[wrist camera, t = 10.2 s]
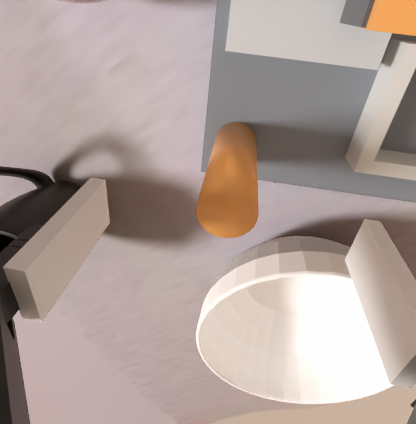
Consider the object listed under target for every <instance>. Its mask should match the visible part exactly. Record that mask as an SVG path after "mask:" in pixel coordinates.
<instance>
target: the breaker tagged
mask: <svg viewBox="0 0 416 424" xmlns="http://www.w3.org/2000/svg"><path fill="white" fill-rule="evenodd" d="M340 23H343V24H348V25H352V26H357V27H362V28H366V30H371V31H379V32H387V33H396V34H404V35H412V36H416V0H346V2H345V6H344V9H343V12H342V16H341V19H340Z"/></svg>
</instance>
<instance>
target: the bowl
mask: <svg viewBox="0 0 416 424" xmlns="http://www.w3.org/2000/svg"><path fill="white" fill-rule="evenodd" d="M350 248H351V247H349V246H346V245H343V244H341V243H338V242H334V241H331V240H328V239H323V238H318V237H313V236H289V237H281V238H276V239H273V240H269V241H265V242H263V243H260V244H258V245H256V246H254V247H252V248H250V249H248V250H247V251H245V252H244V253H242V254H241V255H239V256H238V257H236V258H235V259H233V260H232V261H231V262H229V263H228V264H227V265H226V266H225V267H224V268H223V269H222V270H221V272H220V273H219V274H218V276H217V278H216V279H215V281H214V283H213V285H212V287H211V289H210V291H209V293H208V295H207V296H206V298H205V300H204V303H203V307H202V310H201V314H200V318H199V322H198V326H197V331H196V341H197V347H198V350H199V352H200V354H201V357H202V359H203V360H204V362H205V363H206V364H207V366H208V367H209V368H210V369H211V370H212V371H213V372H214V373H215V374H216V375H218V376H219V377H220V378H221V379H223V380H224V381H226V382H228V383H229V384H231V385H233V386H234V387H236V388H239V389H241V390H243V391H245V392H248V393H250V394H253V395H257V396H260V397H263V398H267V399H272V400H277V401H282V402H290V403H299V404H326V403H339V402H344V401H350V400H356V399H360V398H363V397H367V396H370V395H373V394H376V393H378V392H381V391H383V390H385V389H388V388H390V387H392V386H394V385H392V384H390V383H389V380H388V377H387V374H386V372H385V369H384V366H383V363H382V361H381V358H380V355H379V352H378V350H377V347H376V344H375V341H374V339H373V336H372V333H371V331H370V328H369V325H368V322H367V320H366V317H365V314H364V311H363V309H362V306H361V303H360V300H359V298H358V295H357V292H356V289H355V287H354V284H353V281H352V278H351V276H350V273H349V270H348V267H347V265H346V262H345V258H346V256H347V254H348V252H349V250H350Z"/></svg>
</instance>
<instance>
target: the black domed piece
mask: <svg viewBox="0 0 416 424" xmlns="http://www.w3.org/2000/svg"><path fill="white" fill-rule="evenodd" d="M59 1H64V2H70V3H82V4H88V3H98V2H102V1H106V0H59Z"/></svg>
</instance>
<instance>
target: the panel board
mask: <svg viewBox="0 0 416 424" xmlns="http://www.w3.org/2000/svg"><path fill="white" fill-rule="evenodd" d="M345 2H346V0H217V8H216V19H215V29H214V40H213V51H212V61H211V72H210V82H209V93H208V103H207V114H206V125H205V135H204V146H203V156H202V167H201V172H206V170H207V167H208V163H209V160H210V156H211V153H212V149H213V146H214V142H215V139H216V135H217V133H218V131H219V130H220V128H221V127H223V126H224V125H225V124H227V123H230V122H242V123H245V124H247V125H248V126H249V127H251V129H252V130H253V131H254V133H255V136H256V146H257V180H263V181H270V182H277V183H284V184H291V185H298V186H305V187H312V188H319V189H326V190H332V191H339V192H346V193H353V194H360V195H367V196H374V197H381V198H388V199H395V200H402V201H408V202H415V203H416V36H412V35H404V34H396V33H387V32H379V31H371V30H366V28H362V27H357V26H352V25H348V24H343V23H340V19H341V16H342V12H343V9H344V6H345Z"/></svg>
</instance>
